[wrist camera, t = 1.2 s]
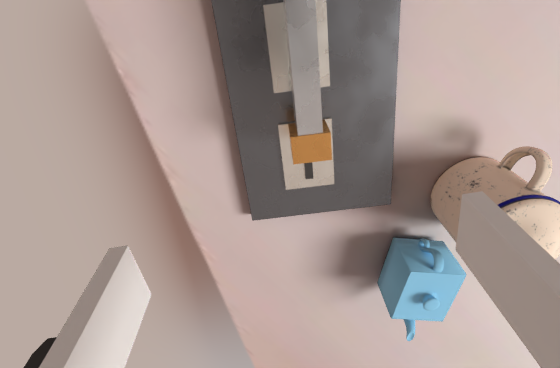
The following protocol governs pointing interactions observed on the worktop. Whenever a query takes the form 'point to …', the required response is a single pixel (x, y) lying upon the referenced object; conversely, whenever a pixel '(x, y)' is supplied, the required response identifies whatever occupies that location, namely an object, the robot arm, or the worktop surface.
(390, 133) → the plate
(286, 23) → the grey bar
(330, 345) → the worktop surface
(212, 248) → the worktop surface
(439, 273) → the teapot
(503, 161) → the teacup with lid
